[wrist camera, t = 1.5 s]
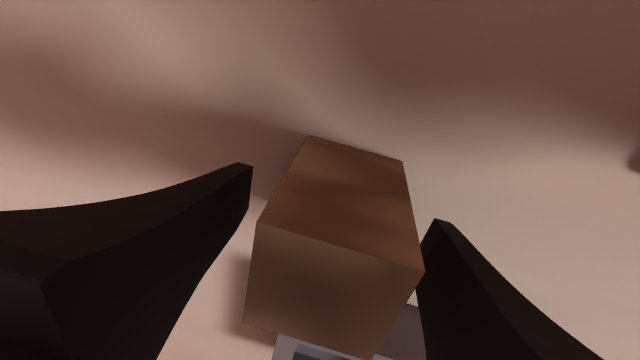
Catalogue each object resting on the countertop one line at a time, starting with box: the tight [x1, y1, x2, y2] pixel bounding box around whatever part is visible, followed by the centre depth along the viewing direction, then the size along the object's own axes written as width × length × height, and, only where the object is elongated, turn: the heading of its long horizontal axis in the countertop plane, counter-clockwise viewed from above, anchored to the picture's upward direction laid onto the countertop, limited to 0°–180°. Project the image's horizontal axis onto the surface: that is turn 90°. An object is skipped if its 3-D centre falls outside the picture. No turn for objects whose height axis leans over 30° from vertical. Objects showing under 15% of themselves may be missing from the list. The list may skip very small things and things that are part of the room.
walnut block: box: [243, 135, 425, 360], centre depth 10 cm, size 4×4×6 cm
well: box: [272, 304, 426, 360], centre depth 16 cm, size 8×8×3 cm
